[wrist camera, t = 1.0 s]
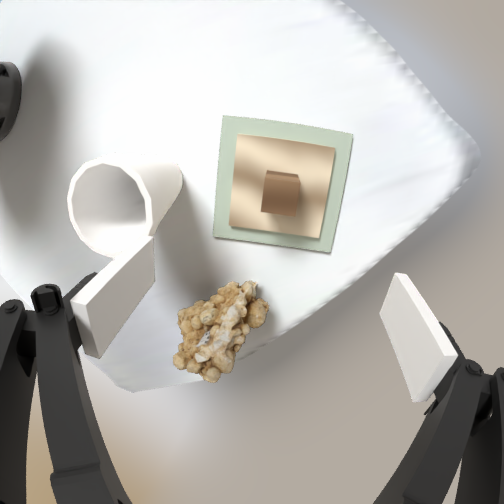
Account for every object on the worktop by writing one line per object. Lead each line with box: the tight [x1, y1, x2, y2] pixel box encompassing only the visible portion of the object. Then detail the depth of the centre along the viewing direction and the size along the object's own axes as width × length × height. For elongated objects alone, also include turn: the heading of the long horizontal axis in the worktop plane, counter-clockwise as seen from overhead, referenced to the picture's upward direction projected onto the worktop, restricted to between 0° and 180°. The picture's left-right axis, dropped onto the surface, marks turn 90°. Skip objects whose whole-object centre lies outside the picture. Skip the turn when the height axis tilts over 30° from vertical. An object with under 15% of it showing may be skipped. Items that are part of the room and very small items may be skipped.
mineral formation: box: [173, 281, 269, 383], centre depth 35 cm, size 8×13×15 cm, turn 136°
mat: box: [213, 116, 353, 252], centre depth 34 cm, size 15×15×1 cm
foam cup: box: [67, 153, 183, 258], centre depth 29 cm, size 10×9×13 cm
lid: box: [229, 134, 335, 238], centre depth 31 cm, size 11×11×6 cm
